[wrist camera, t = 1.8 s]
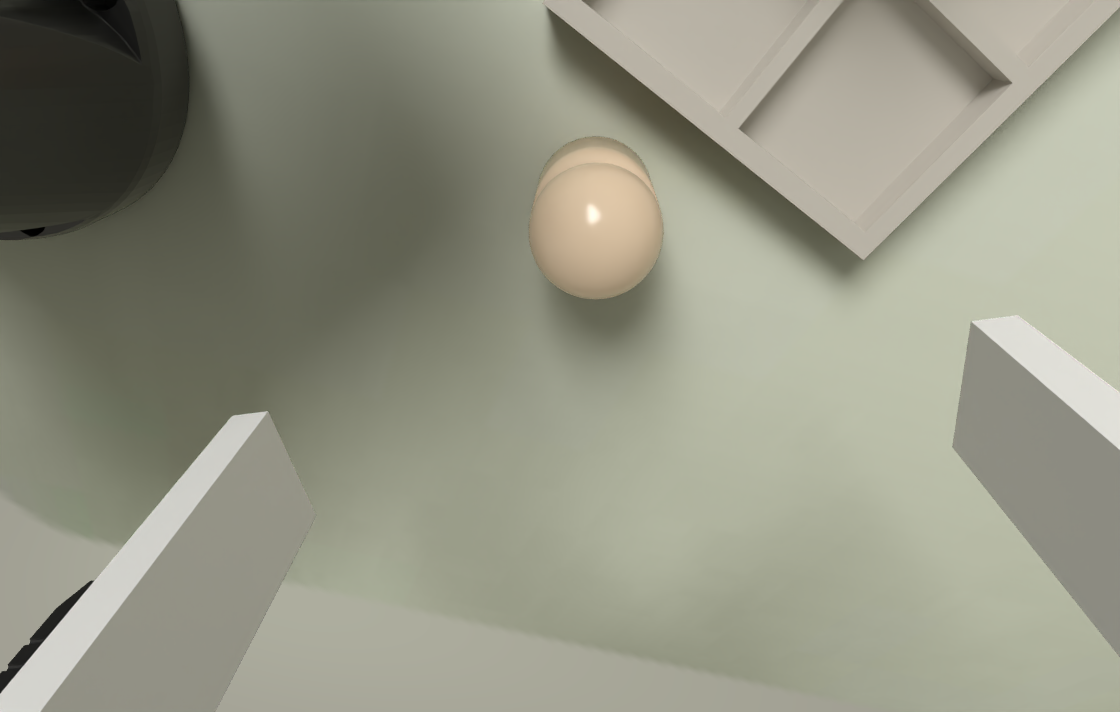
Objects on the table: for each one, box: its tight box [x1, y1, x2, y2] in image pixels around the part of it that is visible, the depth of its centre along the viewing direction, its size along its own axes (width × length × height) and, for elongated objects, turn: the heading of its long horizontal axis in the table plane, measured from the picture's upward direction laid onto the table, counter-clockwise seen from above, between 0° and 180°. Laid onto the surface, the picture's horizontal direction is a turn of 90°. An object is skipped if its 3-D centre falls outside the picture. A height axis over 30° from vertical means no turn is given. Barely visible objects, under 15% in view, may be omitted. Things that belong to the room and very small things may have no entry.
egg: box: [529, 137, 664, 299], centre depth 23 cm, size 5×5×7 cm
